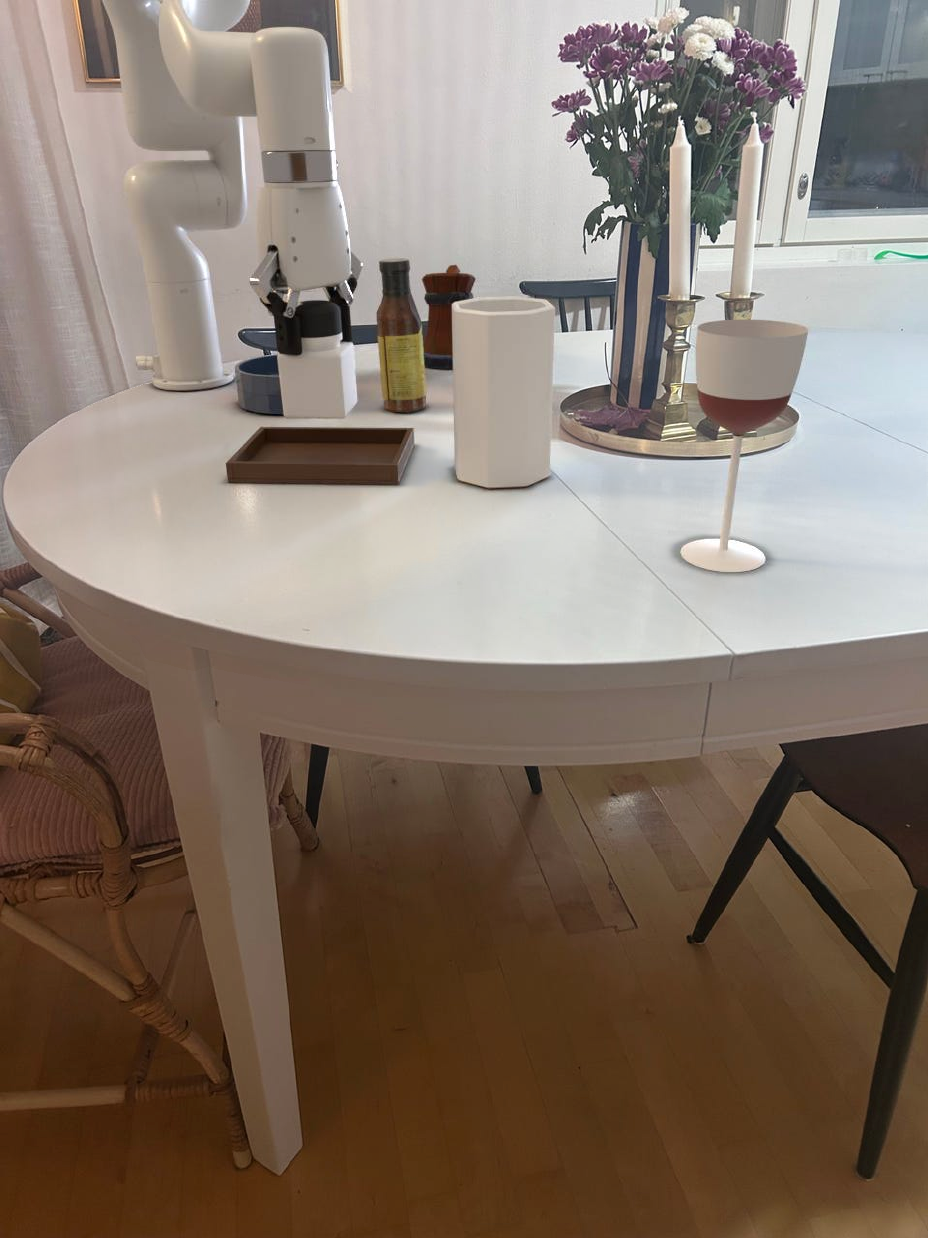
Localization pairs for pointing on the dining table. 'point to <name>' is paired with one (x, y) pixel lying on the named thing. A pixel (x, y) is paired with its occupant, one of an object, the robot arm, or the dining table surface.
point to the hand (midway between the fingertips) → (315, 346)
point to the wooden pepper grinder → (443, 313)
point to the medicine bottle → (319, 366)
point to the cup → (502, 390)
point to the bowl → (259, 385)
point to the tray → (322, 456)
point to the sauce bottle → (400, 340)
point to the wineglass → (742, 408)
